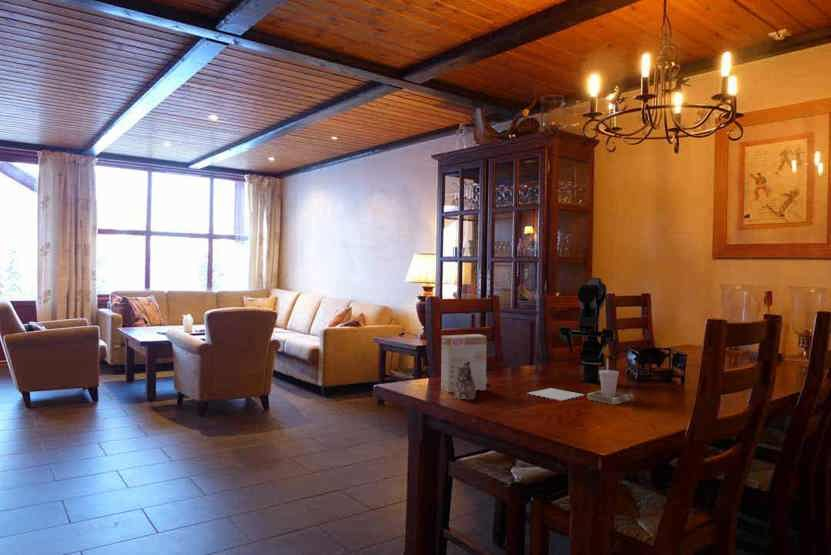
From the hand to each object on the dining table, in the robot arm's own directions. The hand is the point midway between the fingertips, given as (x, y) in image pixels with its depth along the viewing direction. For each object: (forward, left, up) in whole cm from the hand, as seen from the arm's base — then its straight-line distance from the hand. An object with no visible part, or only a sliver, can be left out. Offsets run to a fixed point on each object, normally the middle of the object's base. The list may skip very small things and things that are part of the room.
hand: (585, 356), depth 207 cm
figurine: (+38, -22, -13) cm, 46 cm away
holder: (+3, +11, -13) cm, 17 cm away
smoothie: (+3, +11, -13) cm, 17 cm away
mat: (+10, -5, -13) cm, 17 cm away
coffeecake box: (+29, -31, -13) cm, 44 cm away
